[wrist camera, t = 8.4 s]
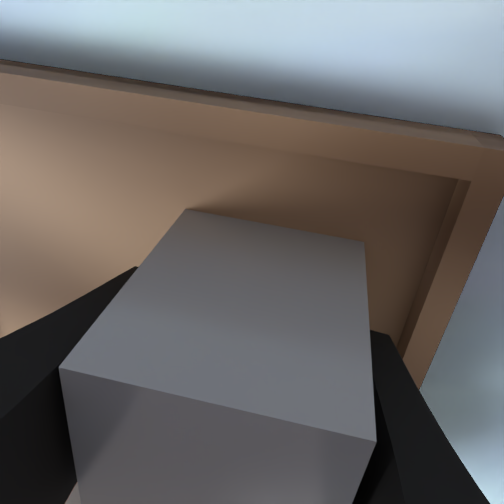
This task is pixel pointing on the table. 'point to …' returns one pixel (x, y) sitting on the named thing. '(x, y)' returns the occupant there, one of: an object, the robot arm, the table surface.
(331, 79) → the table surface
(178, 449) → the block
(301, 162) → the walnut tray
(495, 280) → the table surface
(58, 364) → the robot arm
